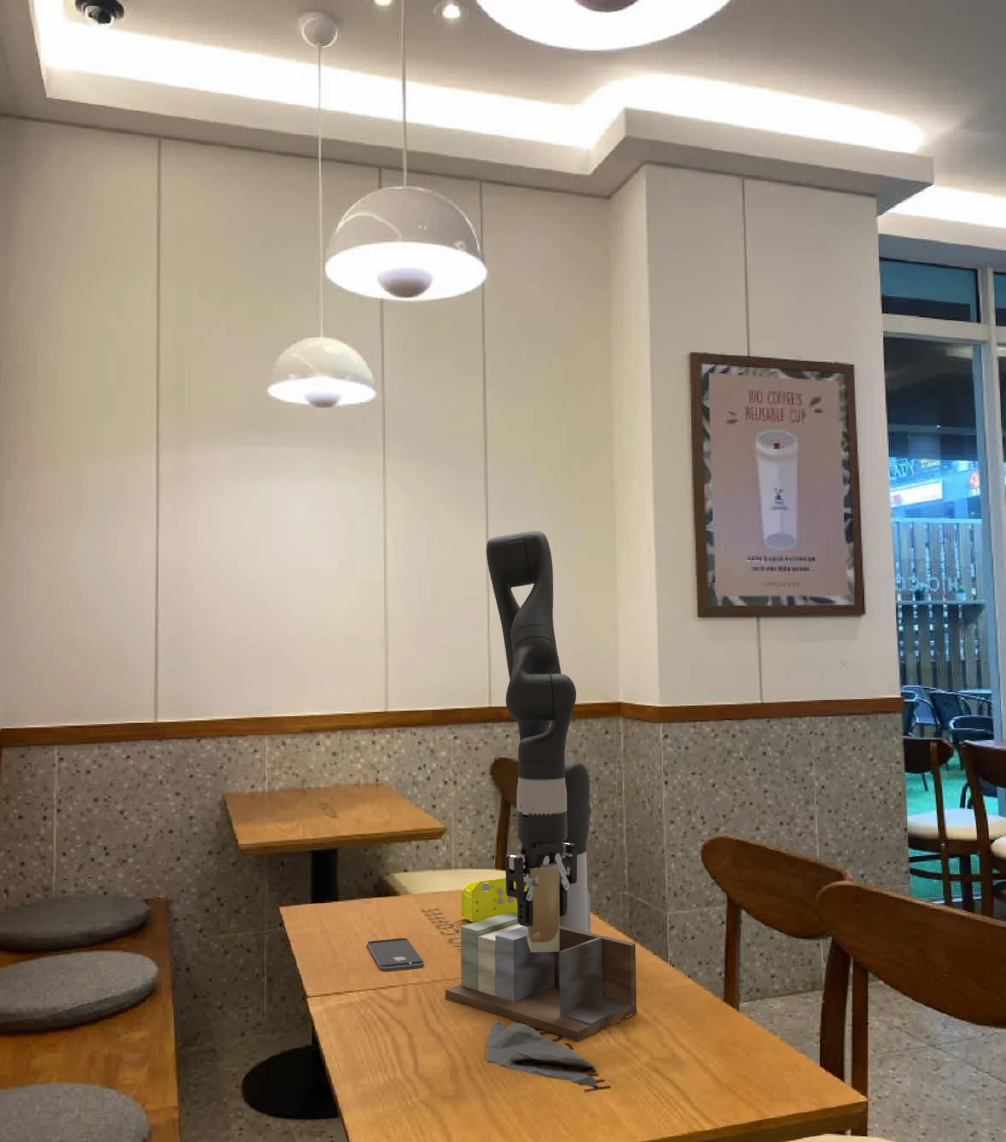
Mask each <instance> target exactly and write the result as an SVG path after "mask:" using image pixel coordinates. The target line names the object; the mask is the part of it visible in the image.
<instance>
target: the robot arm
mask: <svg viewBox="0 0 1006 1142" xmlns="http://www.w3.org/2000/svg"><path fill="white" fill-rule="evenodd" d="M485 550H486V551H485V552H486V553H485V554H486V562H487V566H488V571H489V576H490V581H491V585H492V589H493V594H494V597H495V602H496V603H495V604H496V608H497V610H498V615H499V619H500V624H501V629H502V635H503V642H504V650H505V658H506V665H507V671H508V677H509V678H508V679H509V682H508V686H507V688H506V696H505V705H506V709H507V711H508V713H509V715H511V717H512V718H514V719H515V720H516V721H517V726H518V734H519V744H518V748H517V750H518V751H517V758H518V764H517V765H518V768H517V771H518V774H517V776H518V779H517V788H516V837H517V839H518V840H519V842H520V843H521V849H520V851H519V853H518V854H506V856H505V857H504V858H505V861H504V862H505V878H506V894H507V896H510V897H514V898H516V899H517V911H518V912H517V914H518V915H516V916H517V919H518V922H519V924H520V925H521V926H526V927H530V926H532V925H533V901H532V900H531V899H532V897H533V894H534V887H535V886H538V885H539V871H538V872H537V873H536V875H535V876H534V877H533V878H532V879H531V878H528V877H527V874H528V875H529V873H530V869H532V868H539V869H540V868H543V867H547V866H548V864H551V863H555V864H557V866H558V867H559V926H563V927H567V928H571V929H576V930H580V931H584V932H589V933H592V932H591V894H590V892H589V891H588V883H587V882H588V874H587V871H588V869H587V841H588V835H589V829H590V828H589V824H590V823H589V821H590V800H591V799H590V798H591V791H590V790H591V786H590V785H591V784H590V777H589V773H588V769H587V768H586V766H585V765H584V764H583V763H582V762H579V761H573V760H566V759H565V755H566V745H567V736H568V731H569V728H570V723H571V720H572V716H573V713H574V709H575V705H576V701H577V689H576V686H575V683H574V681H573V680H572V678H570V677H569V676H568V675H567V674H564V673H562V670H561V665H560V664H561V663H560V659H559V653H558V647H557V641H556V635H555V627H554V612H553V611H554V571H553V570H554V566H553V558H552V552H551V551H552V550H551V546H550V543H549V541H548V537H547V536H546V534H544V532H542V531H540V530H527V531H522V532H518V533H517V532H516V533H511V534H504V535H503V534H502V535H499V536H493V537H491V538H490V539H488V541H487V543H486V549H485ZM530 585H532V588H531V590H530V592H529V594H528V596H527V597H526V599H525V600H524V601H523V603H522V605H521V606H520V605H519V603H518V602H517V599H516V598H515V595H514V593H513V589H512V588H517V587H525V586H530ZM514 881H515V882H516V889H514ZM526 885H528V887H527V890H526V891H524V889H525V886H526Z"/></svg>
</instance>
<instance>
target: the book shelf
mask: <svg viewBox="0 0 1006 1142" xmlns="http://www.w3.org/2000/svg"><path fill="white" fill-rule="evenodd" d="M460 956H461V957H460V964H461V965H460V966H461V967H460V968H461V969H460V978H461V979H460V981H461V983H460V984H457V985H455V986H452V987H449V988H446V989H445V990H444V991H445V992H444V997H445V998H446V999H448V1000H452V1001H454V1002H458V1003H460V1004H463V1005H466V1006H470V1007H473V1008H476V1009H478V1010H479V1009H480V1010H482V1011H486V1012H488V1013H490V1014H493V1015H494V1014H495V1015H497V1016H500V1017H503V1018H507V1019H509V1020H513V1021H516V1022H518V1023H521V1024H526V1025H527V1026H530V1027H534V1028H536V1029H540V1030H544V1031H546V1032H550V1033H551V1034H552V1033H553V1034H556V1035H559V1036H562V1037H565V1038H568V1039H570V1040H573V1041H576V1042H579V1041H581V1040H582V1039H585V1038H586V1037H589V1036H591V1035H593V1034H595V1033H597V1032H599V1031H601V1029H602V1030H604V1029H606V1028H608V1027H610V1026H612V1025H614V1024H616V1023H618V1022H619V1021H618V1020H621V1021H623V1020H625V1019H626V1018H625V1017H627V1016H629V1015H631V1014H633V1015H635V1014H637V1013H636V1012H638V1011H637V1008H638V1007H637V966H636V965H637V962H636V957H637V956H636V943H635V942H631V941H627V940H623V939H617V938H613V937H609V936H605V935H601V934H595V933H592V932H591V933H589V932H584V931H580V930H576V929H571V928H567V927H563V926H559V952H531V951H530V948H529V946H528V942H527V927H526V926H521V925H520V924H519V922H518V919H517V915H511V914H507V913H504V914H501V915H498V916H494V917H491V918H488V919H484V920H481V921H478V922H471V923H468V924H465V925H462V926H460ZM634 1013H635V1014H634ZM631 1016H632V1015H631ZM629 1017H630V1016H629ZM624 1018H625V1019H624ZM627 1018H628V1017H627ZM622 1019H623V1020H622ZM617 1021H618V1022H617ZM615 1022H616V1023H615ZM613 1023H614V1024H613ZM607 1026H608V1027H607ZM605 1027H606V1028H605ZM603 1028H604V1029H603Z"/></svg>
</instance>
